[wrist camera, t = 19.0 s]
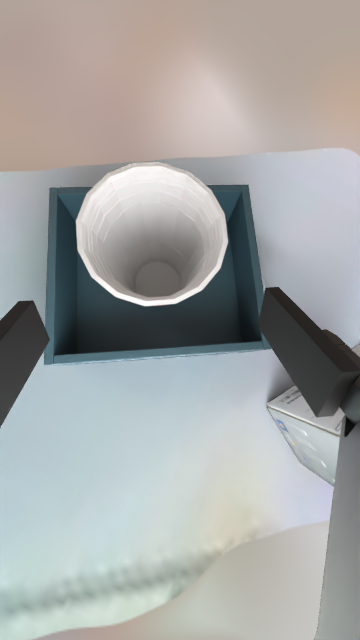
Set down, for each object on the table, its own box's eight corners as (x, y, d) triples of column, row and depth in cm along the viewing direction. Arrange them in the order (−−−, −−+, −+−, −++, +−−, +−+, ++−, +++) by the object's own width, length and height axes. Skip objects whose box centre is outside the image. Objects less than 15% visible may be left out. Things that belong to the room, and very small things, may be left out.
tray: (72, 364, 26) (43, 365, 20) (73, 224, 29) (49, 187, 23) (248, 351, 28) (271, 348, 22) (231, 220, 31) (248, 184, 25)
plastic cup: (125, 340, 26) (94, 323, 15) (102, 255, 28) (57, 178, 16) (214, 314, 28) (252, 279, 16) (187, 234, 29) (203, 148, 17)
